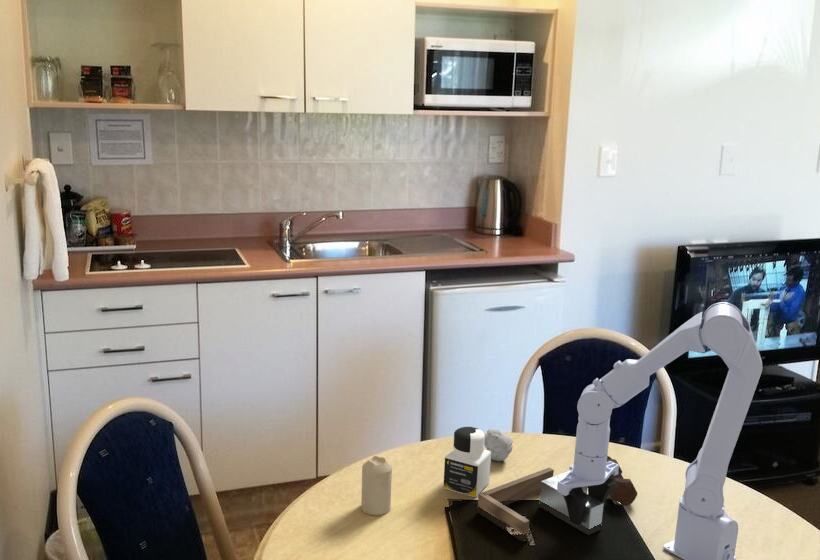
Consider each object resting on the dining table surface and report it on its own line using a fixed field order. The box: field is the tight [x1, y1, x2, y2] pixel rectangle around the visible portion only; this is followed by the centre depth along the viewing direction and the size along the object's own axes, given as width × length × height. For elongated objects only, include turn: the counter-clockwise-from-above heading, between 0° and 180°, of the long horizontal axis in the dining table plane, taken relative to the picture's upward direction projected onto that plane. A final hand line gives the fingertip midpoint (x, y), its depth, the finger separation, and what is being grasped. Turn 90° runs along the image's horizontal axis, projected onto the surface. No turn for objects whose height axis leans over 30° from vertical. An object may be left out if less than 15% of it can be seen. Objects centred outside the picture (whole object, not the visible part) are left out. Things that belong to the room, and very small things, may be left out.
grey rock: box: [484, 428, 514, 462], centre depth 165 cm, size 6×7×7 cm
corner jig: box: [477, 467, 555, 535], centre depth 145 cm, size 12×19×4 cm, turn 127°
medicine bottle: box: [442, 426, 492, 498], centre depth 153 cm, size 7×7×12 cm
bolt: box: [607, 455, 638, 507], centre depth 156 cm, size 6×5×15 cm
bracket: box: [539, 469, 605, 529], centre depth 145 cm, size 12×10×6 cm
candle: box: [361, 455, 393, 516], centre depth 144 cm, size 6×6×10 cm
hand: (584, 519), depth 141 cm, fingers open, 5 cm apart
